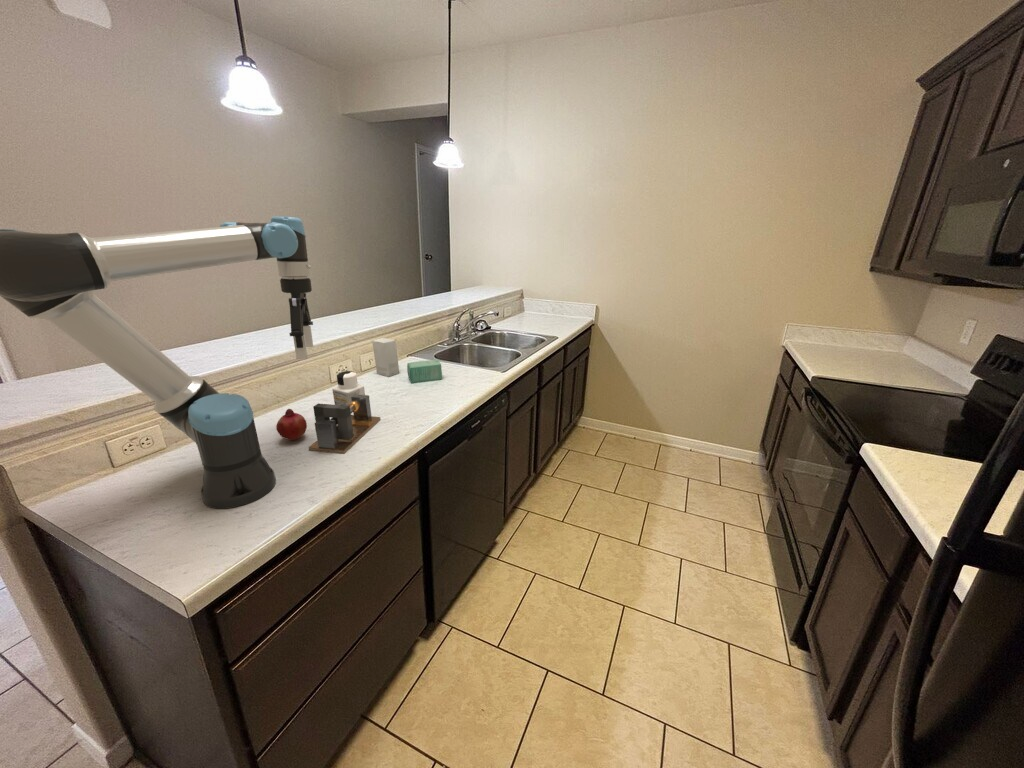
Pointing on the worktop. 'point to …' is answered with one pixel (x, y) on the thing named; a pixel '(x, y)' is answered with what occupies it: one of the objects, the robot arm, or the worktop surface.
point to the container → (346, 388)
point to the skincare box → (386, 356)
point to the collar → (342, 418)
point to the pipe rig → (360, 424)
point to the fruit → (291, 425)
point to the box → (424, 371)
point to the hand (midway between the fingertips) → (305, 352)
